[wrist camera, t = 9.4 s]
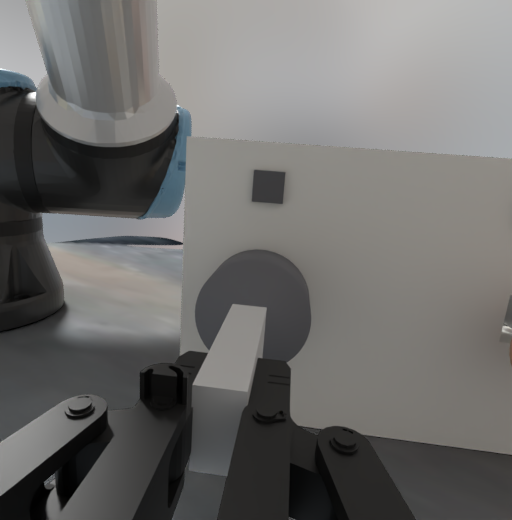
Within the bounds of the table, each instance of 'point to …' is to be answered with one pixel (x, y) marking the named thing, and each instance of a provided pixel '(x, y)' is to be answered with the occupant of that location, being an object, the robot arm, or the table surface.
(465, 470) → the table surface
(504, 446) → the button panel
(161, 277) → the table surface
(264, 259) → the charcoal button
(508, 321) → the terracotta button
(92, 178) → the robot arm
